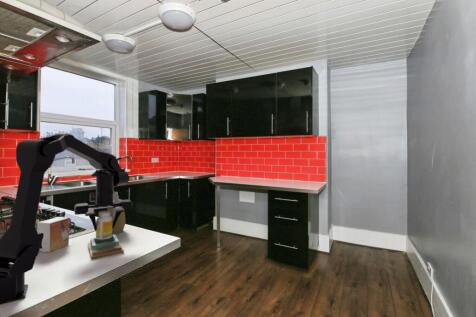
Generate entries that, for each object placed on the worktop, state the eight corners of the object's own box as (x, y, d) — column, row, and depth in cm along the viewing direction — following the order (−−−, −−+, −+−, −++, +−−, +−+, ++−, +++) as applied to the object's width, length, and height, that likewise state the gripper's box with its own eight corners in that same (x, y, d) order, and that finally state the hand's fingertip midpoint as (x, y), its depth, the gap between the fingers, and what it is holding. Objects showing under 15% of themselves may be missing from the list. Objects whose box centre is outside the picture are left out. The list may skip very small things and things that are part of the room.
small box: (49, 252, 85) (49, 223, 85) (36, 251, 87) (36, 222, 86) (69, 244, 93) (69, 217, 93) (57, 243, 94) (57, 216, 94)
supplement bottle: (93, 239, 88) (93, 213, 88) (100, 234, 93) (100, 210, 93) (108, 239, 88) (109, 213, 88) (114, 234, 94) (115, 210, 93)
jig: (123, 253, 87) (123, 244, 87) (91, 259, 81) (91, 251, 81) (116, 240, 98) (116, 233, 98) (87, 246, 92) (87, 238, 92)
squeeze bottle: (124, 233, 106) (125, 193, 106) (104, 235, 103) (104, 194, 103) (126, 228, 114) (126, 190, 113) (106, 230, 111) (107, 191, 110)
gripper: (127, 184, 102) (126, 220, 103) (74, 186, 91) (73, 227, 92) (133, 187, 93) (132, 227, 94) (75, 190, 82) (74, 236, 83)
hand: (104, 229), depth 91 cm, fingers closed on supplement bottle, 5 cm apart
